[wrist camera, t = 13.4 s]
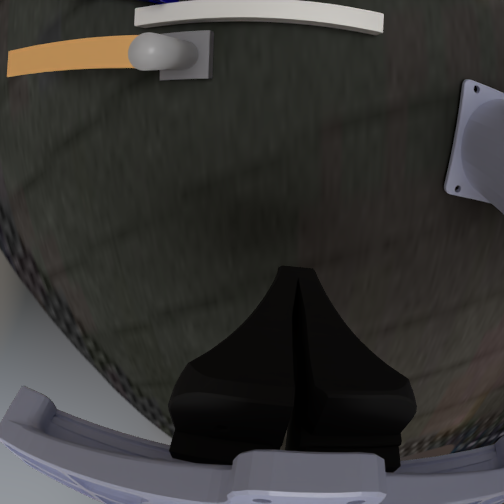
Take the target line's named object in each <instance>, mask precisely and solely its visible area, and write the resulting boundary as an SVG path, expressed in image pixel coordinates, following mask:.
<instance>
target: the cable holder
mask: <svg viewBox="0 0 504 504" xmlns="http://www.w3.org/2000/svg"><path fill="white" fill-rule="evenodd" d="M139 1H145V2H151V3H156V4H167V3H175V2H178V1H179V0H139Z"/></svg>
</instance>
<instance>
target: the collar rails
mask: <svg viewBox="0 0 504 504" xmlns="http://www.w3.org/2000/svg"><path fill="white" fill-rule="evenodd" d="M383 17H384V14H382V13H378V12H373V11H368V10H363V9H358V8H352V7H346V6H340V5H333V4H326V3H318V2H309V1H298V0H194V1H184V2H175V3H167V4H159V5H153V6H146V7H140V8H135V25H134V26H137V27H142V28H150V27H157V26H166V25H175V24H186V23H201V22H225V21H255V22H279V23H294V24H305V25H314V26H323V27H330V28H337V29H344V30H350V31H356V32H361V33H367V34H372V35H378V34H381V33H383ZM160 35H165V36H169V37H173V38H177V39H181V40H185V41H189V42H191V43H193V44H194V45H195V46H196V47H197V49H198V59H197V61H196V62H195V64H194V65H193V66H191V67H190V68H188V69H178V70H160V80H175V79H205V78H212V75H213V44H214V32H213V31H210V30H203V31H187V32H175V33H165V34H160Z"/></svg>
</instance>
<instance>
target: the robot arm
mask: <svg viewBox="0 0 504 504" xmlns="http://www.w3.org/2000/svg"><path fill="white" fill-rule="evenodd" d="M474 86H476V87H477V91H476V92H474ZM457 185H459V188H458V189H457V190H455V187H456V186H457ZM444 189H445V191H446V192H447V193H448V194H451V195H455V196H460V197H465V198H470V199H474V200H479V201H483V202H487V203H491V204H493V205H494V206H495V207H496V208H497V209H498V210H499V211H500V212H502V213H503V214H504V93H503V92H500V91H498V90H496V89H493V88H491V87H488V86H486V85H483V84H481V83H478V82H476V81H473V80H469V79H466V80H464V81H463V83H462V89H461V98H460V105H459V112H458V118H457V125H456V131H455V136H454V142H453V147H452V152H451V157H450V161H449V166H448V170H447V175H446V179H445V183H444ZM168 407H169V413H170V416H171V419H172V422H173V424H174V427H175V432H174V435H173V439H172V442H171V445H166V444H162V443H158V442H154V441H150V440H146V439H143V438H139V437H135V436H132V435H128V434H125V433H122V432H118V431H115V430H112V429H109V428H106V427H103V426H100V425H97V424H94V423H92V422H89V421H86V420H83V419H81V418H78V417H75V416H72V415H70V414H68V413H65V412H63V411H60V410H58V409H56V407H55V405H54V403H53V402H52V401H51V400H50V399H49V398H48V397H47V396H45V395H43V394H41V393H39V392H37V391H35V390H32V389H30V388H28V387H26V386H22V387H21V388H20V390H19V392H18V394H17V395H16V397H15V398H14V400H13V402H12V403H11V405H10V407H9V409H8V410H7V412H6V414H5V416H4V417H3V419H2V421H1V423H0V442H1V443H3V445H5V446H6V447H7V448H8V449H9V450H10V451H12V453H14V454H15V455H16V456H17V457H19V458H20V459H21V460H22V461H23V462H24V463H26V464H27V465H28V466H30V467H32V468H34V469H36V470H37V471H39V472H41V473H43V474H44V475H46V476H48V477H50V478H52V479H54V480H56V481H58V482H60V483H62V484H64V485H66V486H67V487H69V488H71V489H74V490H76V491H78V492H80V493H82V494H84V495H86V496H88V497H91V498H93V499H95V500H98V501H100V502H102V503H104V504H501V503H503V502H504V436H503V437H501V438H500V439H499V440H498V441H497V442H496V443H495V444H494V445H490V446H486V447H482V448H477V449H473V450H468V451H463V452H458V453H453V454H447V455H442V456H435V457H429V458H421V459H414V460H404V461H400V455H399V447H398V446H400V445H401V442H402V440H401V432H402V430H403V429H404V428H405V427H406V426H407V424H408V423H409V422H410V421H411V420H412V418H413V417H414V415H415V413H416V409H417V405H416V401H415V396H414V393H413V390H412V387H411V385H410V382H409V379H408V378H406V377H405V376H403V375H402V374H400V373H399V372H397V371H396V370H394V369H393V368H391V367H390V366H389V365H387V364H386V363H385V362H383V361H382V360H381V359H380V358H379V357H377V356H376V355H375V354H374V353H373V352H372V351H370V350H369V349H368V348H367V347H366V346H365V345H364V344H363V343H362V342H361V341H360V340H359V339H358V338H357V337H356V336H355V335H354V333H353V332H352V331H351V330H350V329H349V327H348V326H347V325H346V324H345V322H344V321H343V319H342V318H341V317H340V315H339V314H338V312H337V311H336V309H335V308H334V306H333V305H332V303H331V301H330V300H329V298H328V296H327V295H326V293H325V291H324V289H323V287H322V285H321V283H320V281H319V279H318V277H317V275H316V273H315V271H314V270H313V269H311V268H301V267H291V266H280V267H279V268H278V272H277V275H276V277H275V280H274V282H273V284H272V285H271V287H270V289H269V290H268V292H267V294H266V295H265V297H264V298H263V300H262V301H261V302H260V304H259V305H258V306H257V308H256V309H255V310H254V311H253V313H252V314H251V315H250V316H249V317H248V318H247V319H246V321H245V322H244V323H243V324H242V325H241V326H240V327H238V328H237V329H236V330H235V331H234V332H233V333H232V334H231V335H230V336H229V337H227V338H226V339H225V340H223V341H222V342H221V343H219V344H218V345H217V346H215V347H214V348H213V349H211V350H210V351H208V352H207V353H205V354H203V355H201V356H200V357H198V358H196V359H195V360H193V361H191V362H189V363H188V364H187V366H186V367H185V369H184V370H183V372H182V373H181V375H180V377H179V379H178V381H177V383H176V384H175V387H174V389H173V392H172V395H171V398H170V401H169V404H168ZM287 427H288V429H287ZM286 430H287V438H286V447H285V450H280V447H281V446H282V443H283V440H284V437H285V433H286Z"/></svg>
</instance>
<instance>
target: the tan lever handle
mask: <svg viewBox="0 0 504 504" xmlns="http://www.w3.org/2000/svg"><path fill="white" fill-rule="evenodd" d="M197 59H198V49H197V47H196V46H195V45H194V44H193V43H191V42H189V41H185V40H181V39H177V38H173V37H169V36H165V35H160V34H156V33H151V32H148V33H143V34H141V35H124V36H107V37H94V38H84V39H75V40H67V41H60V42H54V43H48V44H42V45H36V46H31V47H26V48H21V49H17V50H12V51H9V55H8V68H7V77H11V76H17V75H24V74H32V73H40V72H49V71H60V70H74V69H93V68H136V69H138V70H178V69H188V68H190V67H191V66H193V65H194V64H195V62H196V61H197Z"/></svg>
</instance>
